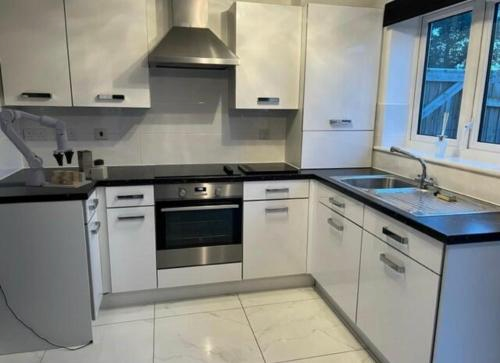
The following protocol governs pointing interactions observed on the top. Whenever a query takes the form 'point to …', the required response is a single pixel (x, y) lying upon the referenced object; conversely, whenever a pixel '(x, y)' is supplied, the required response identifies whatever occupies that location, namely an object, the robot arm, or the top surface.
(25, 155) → the robot arm
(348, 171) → the top surface
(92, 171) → the medicine bottle
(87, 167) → the coffee box
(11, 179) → the top surface
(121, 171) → the top surface
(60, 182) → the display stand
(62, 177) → the ash bar
